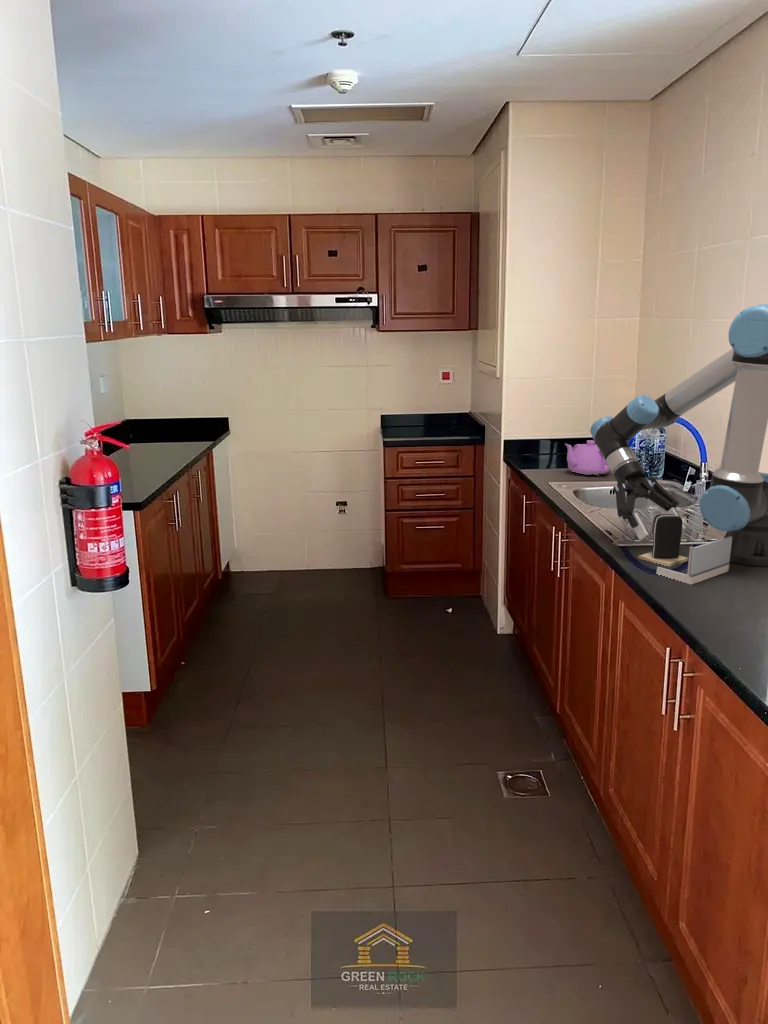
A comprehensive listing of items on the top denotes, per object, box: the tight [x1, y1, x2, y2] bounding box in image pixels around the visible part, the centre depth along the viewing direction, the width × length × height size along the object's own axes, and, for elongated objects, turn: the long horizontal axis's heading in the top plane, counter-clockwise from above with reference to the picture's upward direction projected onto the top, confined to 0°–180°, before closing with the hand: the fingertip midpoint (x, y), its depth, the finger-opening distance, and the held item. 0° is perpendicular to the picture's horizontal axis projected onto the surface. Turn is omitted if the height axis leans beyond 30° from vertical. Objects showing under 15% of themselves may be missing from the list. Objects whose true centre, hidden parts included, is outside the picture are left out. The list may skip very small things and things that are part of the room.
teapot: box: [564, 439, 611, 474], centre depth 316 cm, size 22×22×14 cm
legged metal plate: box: [655, 536, 732, 586], centre depth 191 cm, size 17×9×9 cm, turn 128°
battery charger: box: [651, 513, 683, 558], centre depth 201 cm, size 7×4×11 cm, turn 93°
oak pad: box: [638, 551, 689, 568], centre depth 203 cm, size 9×9×1 cm
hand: (663, 534), depth 202 cm, fingers open, 13 cm apart
